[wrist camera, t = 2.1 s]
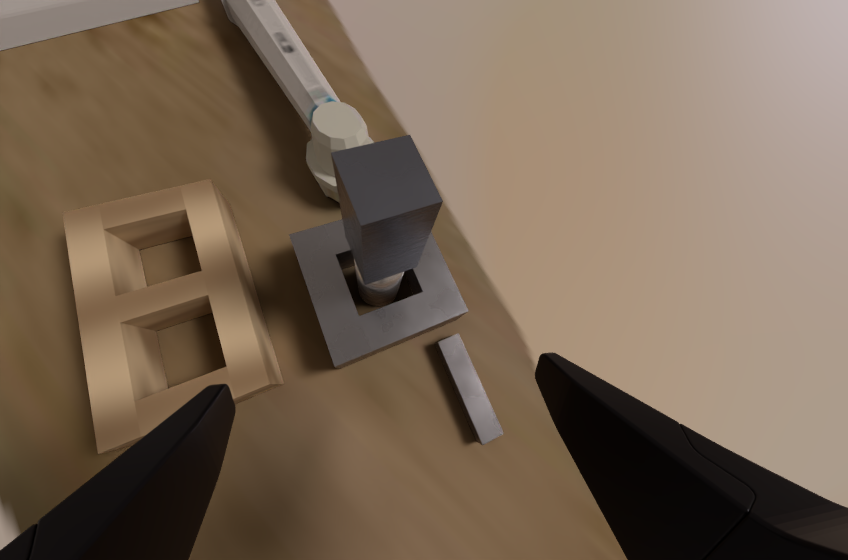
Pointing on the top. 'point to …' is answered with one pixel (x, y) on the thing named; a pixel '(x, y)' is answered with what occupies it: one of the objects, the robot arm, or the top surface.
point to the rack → (161, 306)
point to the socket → (386, 326)
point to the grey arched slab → (69, 16)
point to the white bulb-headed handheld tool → (301, 86)
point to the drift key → (469, 389)
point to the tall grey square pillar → (385, 212)
